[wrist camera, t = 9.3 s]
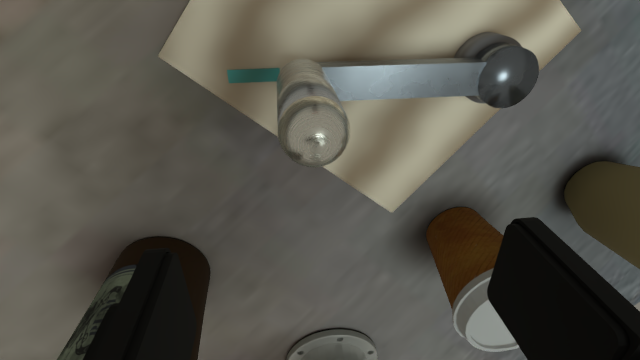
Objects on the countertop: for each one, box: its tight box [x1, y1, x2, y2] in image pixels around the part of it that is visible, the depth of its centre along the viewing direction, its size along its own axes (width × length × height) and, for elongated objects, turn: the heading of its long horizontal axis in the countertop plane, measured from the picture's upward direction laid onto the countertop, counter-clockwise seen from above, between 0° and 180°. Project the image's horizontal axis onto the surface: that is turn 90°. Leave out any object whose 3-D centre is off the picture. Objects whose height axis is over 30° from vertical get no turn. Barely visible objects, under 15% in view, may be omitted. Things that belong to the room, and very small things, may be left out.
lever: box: [276, 42, 539, 167], centre depth 22 cm, size 19×4×12 cm, turn 90°
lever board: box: [158, 0, 581, 213], centre depth 27 cm, size 25×22×3 cm
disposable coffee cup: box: [426, 207, 519, 352], centre depth 35 cm, size 10×10×12 cm
